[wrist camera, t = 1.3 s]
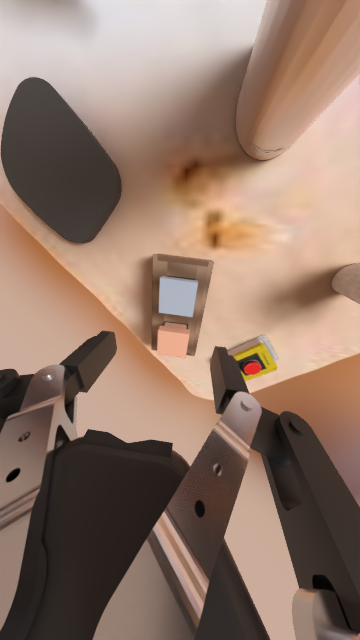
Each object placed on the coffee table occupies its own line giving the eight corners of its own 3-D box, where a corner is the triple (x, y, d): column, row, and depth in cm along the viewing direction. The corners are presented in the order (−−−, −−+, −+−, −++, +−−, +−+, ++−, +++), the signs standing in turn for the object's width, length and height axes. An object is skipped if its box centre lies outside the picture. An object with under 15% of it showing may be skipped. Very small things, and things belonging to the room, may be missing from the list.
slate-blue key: (165, 273, 24) (159, 277, 20) (197, 277, 24) (198, 282, 20) (163, 303, 26) (158, 312, 23) (192, 307, 26) (192, 317, 22)
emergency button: (289, 371, 31) (228, 392, 36) (278, 357, 35) (225, 378, 40) (274, 343, 28) (210, 370, 33) (264, 332, 32) (208, 357, 37)
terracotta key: (162, 319, 28) (158, 330, 24) (190, 322, 28) (189, 334, 24) (161, 341, 31) (157, 354, 27) (186, 344, 30) (185, 358, 27)
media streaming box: (132, 184, 22) (123, 175, 19) (87, 252, 27) (75, 252, 25) (45, 74, 18) (19, 44, 15) (12, 180, 23) (-11, 171, 21)
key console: (158, 253, 26) (152, 254, 22) (211, 260, 26) (213, 262, 22) (155, 339, 35) (151, 349, 32) (194, 345, 35) (194, 356, 31)
